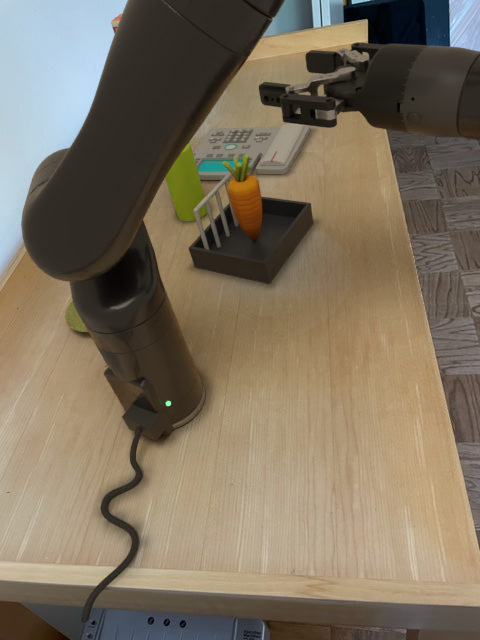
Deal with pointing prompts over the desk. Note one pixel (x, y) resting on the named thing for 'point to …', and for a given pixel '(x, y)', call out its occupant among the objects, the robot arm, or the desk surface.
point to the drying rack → (238, 249)
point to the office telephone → (249, 149)
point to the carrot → (245, 197)
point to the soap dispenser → (185, 186)
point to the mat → (74, 319)
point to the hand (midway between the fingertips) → (285, 76)
